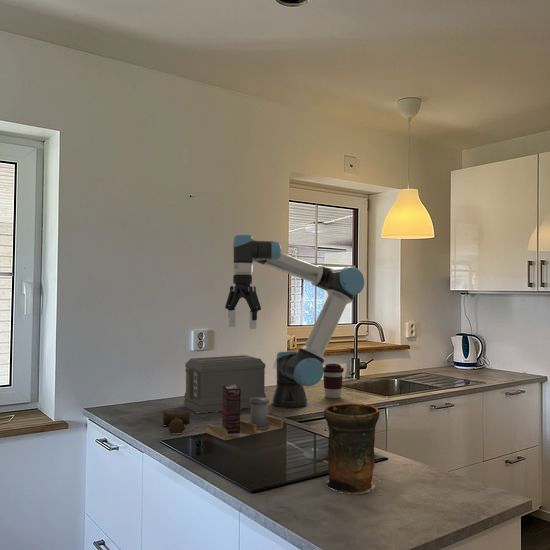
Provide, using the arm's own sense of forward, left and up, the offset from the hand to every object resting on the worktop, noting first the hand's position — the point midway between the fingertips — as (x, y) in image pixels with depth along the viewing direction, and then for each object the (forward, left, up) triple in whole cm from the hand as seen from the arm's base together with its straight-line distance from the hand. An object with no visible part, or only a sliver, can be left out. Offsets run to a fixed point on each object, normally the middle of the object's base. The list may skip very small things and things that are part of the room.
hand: (242, 327), depth 221 cm
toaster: (-6, -19, -35) cm, 40 cm away
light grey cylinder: (+9, +21, -34) cm, 41 cm away
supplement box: (+21, +21, -34) cm, 45 cm away
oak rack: (+15, +21, -35) cm, 43 cm away
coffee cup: (-56, -4, -35) cm, 66 cm away
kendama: (+29, 0, -35) cm, 46 cm away
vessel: (+24, +79, -35) cm, 90 cm away
